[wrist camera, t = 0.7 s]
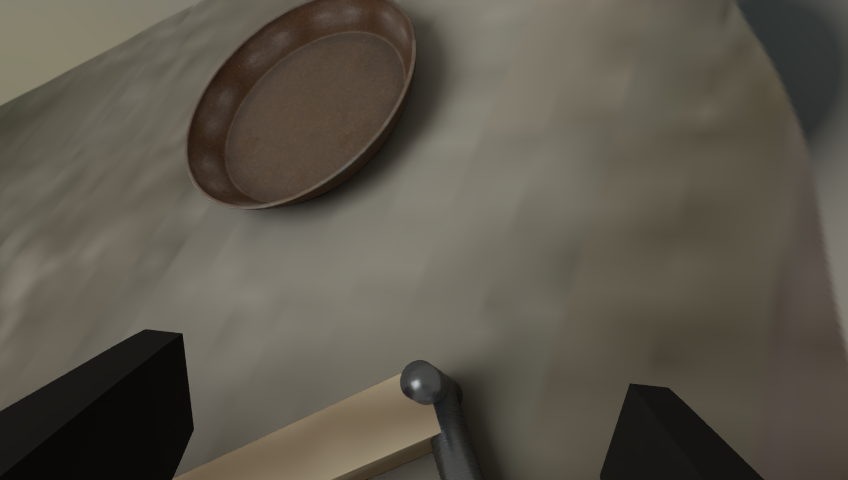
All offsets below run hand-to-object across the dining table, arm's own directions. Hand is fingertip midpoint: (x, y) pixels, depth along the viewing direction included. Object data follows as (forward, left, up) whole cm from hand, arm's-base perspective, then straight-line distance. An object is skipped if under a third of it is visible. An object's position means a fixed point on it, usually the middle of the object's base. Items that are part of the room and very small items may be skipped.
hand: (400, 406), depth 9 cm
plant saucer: (+27, +7, -15) cm, 32 cm away
